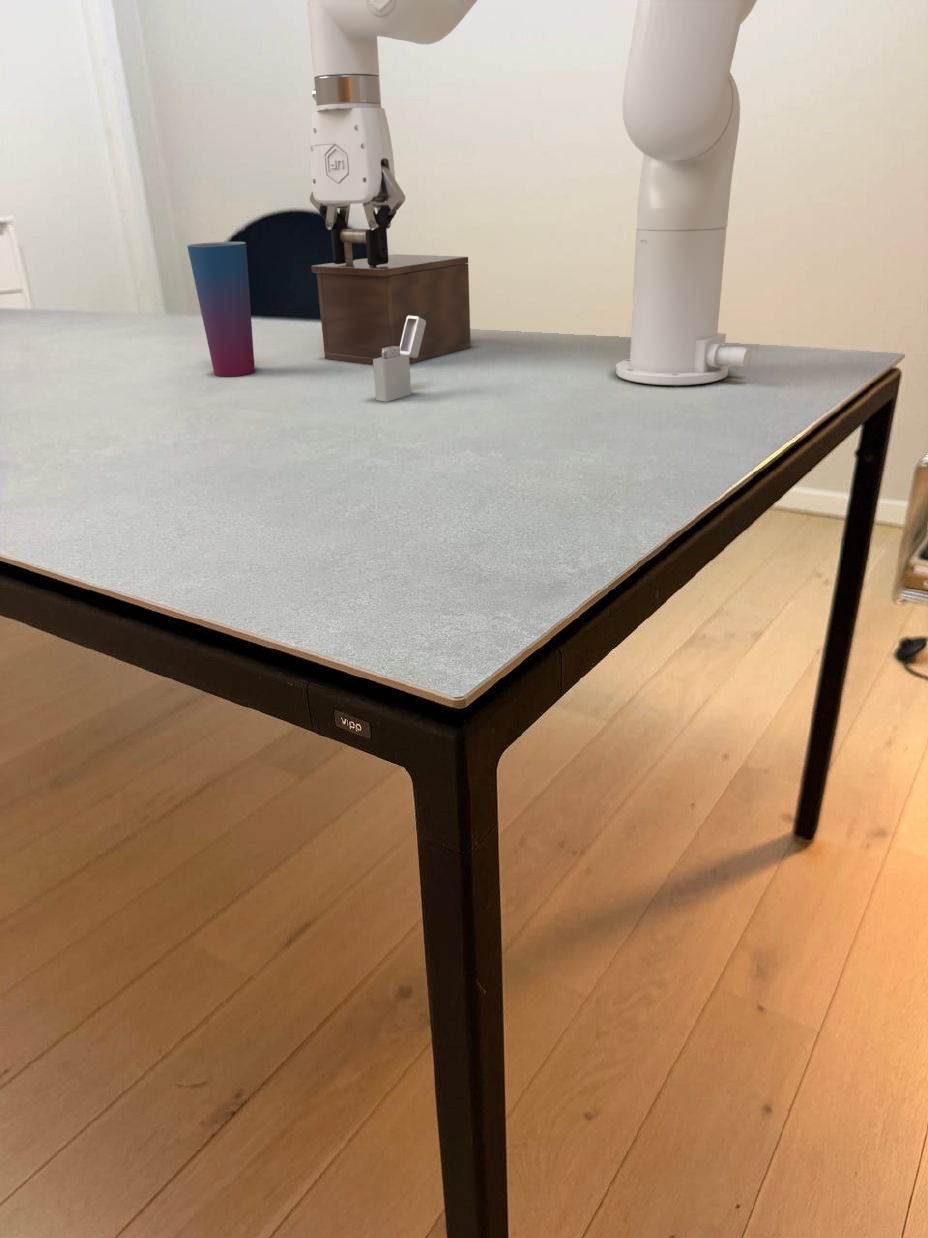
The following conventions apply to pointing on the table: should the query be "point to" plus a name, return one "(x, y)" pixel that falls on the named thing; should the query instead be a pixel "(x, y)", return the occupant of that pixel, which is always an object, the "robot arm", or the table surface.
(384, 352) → the lighter
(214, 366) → the cup
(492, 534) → the table surface
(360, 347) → the brown wooden box
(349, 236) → the lid
